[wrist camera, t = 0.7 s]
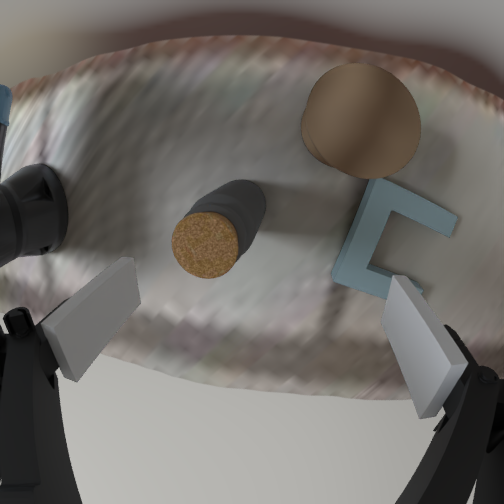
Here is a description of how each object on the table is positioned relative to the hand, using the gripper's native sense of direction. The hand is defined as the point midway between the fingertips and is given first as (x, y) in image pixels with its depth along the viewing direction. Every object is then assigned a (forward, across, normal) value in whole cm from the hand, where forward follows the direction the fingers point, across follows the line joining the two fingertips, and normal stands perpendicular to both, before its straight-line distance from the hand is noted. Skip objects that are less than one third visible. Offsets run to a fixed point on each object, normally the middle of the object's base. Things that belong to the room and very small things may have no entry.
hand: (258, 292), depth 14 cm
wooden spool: (+20, +7, +9) cm, 23 cm away
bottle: (+20, -4, 0) cm, 21 cm away
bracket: (+20, +15, -3) cm, 25 cm away
